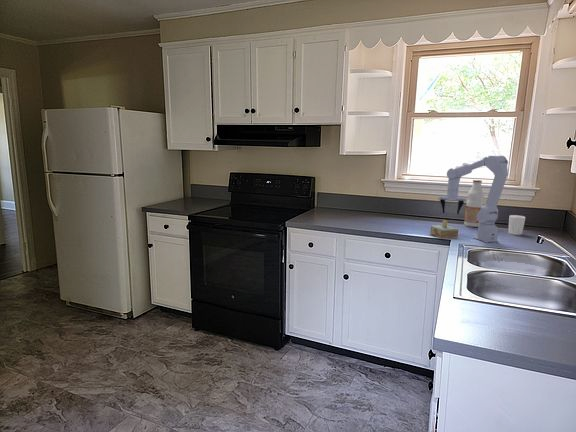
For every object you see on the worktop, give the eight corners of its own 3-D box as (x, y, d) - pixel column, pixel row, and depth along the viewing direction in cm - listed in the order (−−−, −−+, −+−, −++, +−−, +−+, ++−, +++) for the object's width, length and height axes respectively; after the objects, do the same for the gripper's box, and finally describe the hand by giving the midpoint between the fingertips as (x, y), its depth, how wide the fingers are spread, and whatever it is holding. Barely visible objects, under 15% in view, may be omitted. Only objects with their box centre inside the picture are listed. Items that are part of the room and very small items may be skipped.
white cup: (514, 235, 222) (517, 218, 220) (503, 232, 229) (506, 215, 228) (526, 235, 224) (528, 217, 222) (515, 231, 232) (517, 214, 230)
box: (457, 237, 214) (458, 230, 213) (441, 238, 212) (442, 231, 211) (446, 233, 224) (446, 226, 223) (430, 233, 221) (430, 226, 220)
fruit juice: (468, 227, 241) (473, 180, 236) (461, 223, 251) (466, 179, 245) (483, 227, 242) (489, 181, 236) (475, 223, 251) (481, 179, 246)
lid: (458, 230, 213) (459, 222, 213) (442, 231, 211) (442, 222, 210) (446, 226, 223) (447, 218, 222) (430, 226, 220) (431, 219, 220)
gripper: (465, 189, 228) (463, 213, 230) (438, 188, 232) (436, 211, 235) (467, 191, 221) (464, 215, 224) (439, 189, 225) (437, 213, 228)
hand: (450, 213), depth 229 cm, fingers open, 7 cm apart
